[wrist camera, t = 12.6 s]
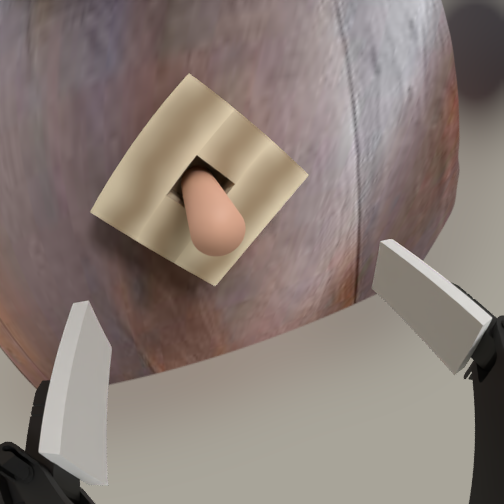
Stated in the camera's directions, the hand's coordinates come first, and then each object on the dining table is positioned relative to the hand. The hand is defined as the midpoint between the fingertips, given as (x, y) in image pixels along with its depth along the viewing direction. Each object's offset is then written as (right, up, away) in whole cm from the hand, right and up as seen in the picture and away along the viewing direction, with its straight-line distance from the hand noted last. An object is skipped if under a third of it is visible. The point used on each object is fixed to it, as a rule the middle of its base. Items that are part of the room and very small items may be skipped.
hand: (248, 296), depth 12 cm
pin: (-6, +9, +18) cm, 22 cm away
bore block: (-6, +11, +20) cm, 24 cm away
